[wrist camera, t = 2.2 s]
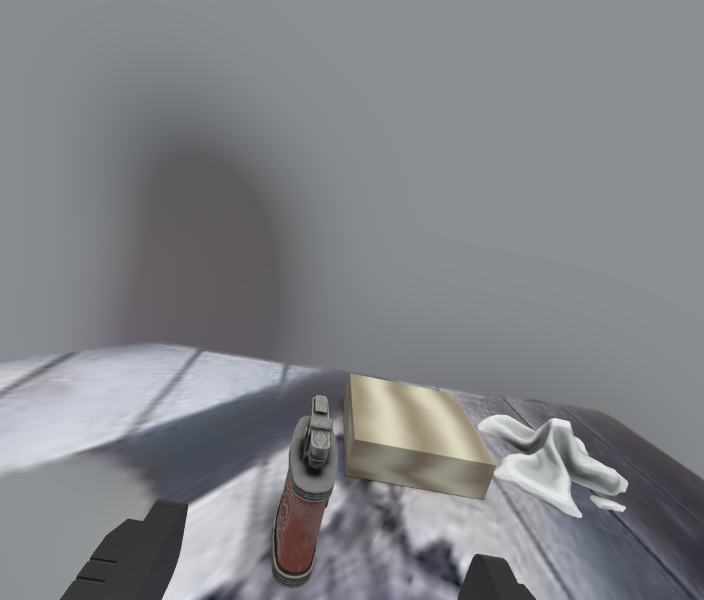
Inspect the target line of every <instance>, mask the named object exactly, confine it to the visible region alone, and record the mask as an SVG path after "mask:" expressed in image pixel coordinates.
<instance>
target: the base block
mask: <svg viewBox="0 0 704 600" xmlns="http://www.w3.org/2000/svg"><path fill="white" fill-rule="evenodd" d="M343 407H344V452H345V476H351V477H356V478H362V479H368V480H373V481H379V482H385V483H391V484H396V485H402V486H408V487H414V488H419V489H425V490H431V491H436V492H442V493H448V494H454V495H459V496H465V497H471V498H477V499H482V500H484V498H485V495H486V492H487V490H488V487H489V484H490V482H491V479H492V476H493V474H494V471H495V468H496V466H497V465H496V464H495V462H494V460H493V459H492V457H491V456H490V454H489V452H488V451H487V449H486V448H485V446H484V444H483V443H482V441H481V440H480V438H479V436H478V435H477V433H476V432H475V430H474V428H473V427H472V425H471V424H470V422H469V420H468V419H467V417H466V415H465V414H464V412H463V411H462V409H461V407H460V406H459V404H458V403H457V401H456V399H455V398H454V396H453V395H452V394H450V393H445V392H440V391H435V390H430V389H425V388H420V387H415V386H410V385H405V384H400V383H395V382H390V381H385V380H380V379H375V378H370V377H365V376H360V375H355V374H350V376H349V380H348V384H347V388H346V392H345V396H344V400H343Z"/></svg>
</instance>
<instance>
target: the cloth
mask: <svg viewBox="0 0 704 600" xmlns="http://www.w3.org/2000/svg"><path fill="white" fill-rule="evenodd" d="M478 429H479V430H481V431H483V432H486V433H490V434H492V435H495V436H497V437H499V438H501V439H503V440H505V441H506V442H508V443H510V444H511V445H513V446H514V447H516V448H518V449H519V450H521V451H523V452H525V453H526V454H528V455H524V454H511V455H509V456H506V457H505V458H504V459H503V460H502V463H501V465H500V467H499V468H498V469H495V471H494V475H495V476H497V477H498V478H500V479H502V480H504V481H506V482H508V483H509V484H512V485H514V486H516V487H518V488H519V489H521V490H523V491H525V492H527V493H529V494H530V495H532V496H534V497H536V498H538V499H541V500H543V501H544V502H546V503H548V504H550V505H551V506H553V507H555V508H557V509H559V510H561V511H562V512H564V513H567V514H569V515H572V516H575V517H578V518H581V517H582V513H581V512H580V511H579V510H578V508H577V506H576V505H575V503H574V501H573V500H572V498H571V492H570V491H571V481H573V482H575V483H578V484H580V485H582V486H585V487H587V488H590V489H593V490H596V491H598V492H601V493H604V494H607V495H611V496H612V495H617V494H618V493H619V492H625V491H626V488H627V487H628V482H627V481H626V480H625V479H624V478H623V477H622V476H621V475H619V474H618V473H617V472H616V471H615V470H614V469H612V468H609V467H607V466H604V465H603V464H601V463H600V462H598V461H596V460H594V459H592V458H591V457H589V456H588V453H587V452H586V449H585V446H584V444H583V443H582V441H581V440H579V439H578V438H576V437H575V436H574V434H573V431H572V428H571V424H570V422H569V421H565V420H561V419H557V418H554V419H550V420H549V421H547V422H546V423H545V424H544V425H543V426H542V427H540V428H539V429H538V430H537V431H534V430H532V429H530V428H528V427H526V426H525V425H523V424H521V423H520V422H518V421H517V420H515V419H513V418H511V417H509V416H507V415H494V416H491V417H488V418H486V419H484V420H483V421H482V422H481V423H479V425H478ZM590 499H591V500H592V501H593V502H594V503H595V504H596V505H597V506H598V507H599V508H603V509H610V510H614V511H621V512H623V511H624V510H625V508H626V507H624V506H622V505H620V504H617V503H615V502H613V501H610V500H607V499H604V498H600V497H597V496H590Z"/></svg>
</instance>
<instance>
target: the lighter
mask: <svg viewBox="0 0 704 600" xmlns="http://www.w3.org/2000/svg"><path fill="white" fill-rule="evenodd" d="M337 468H338V448H337V442H336V437H335V434H334V432H333V419H329V412H328V400H327V399H326V397H324V396H316V397H314V398H313V401H312V405H311V410H310V416H305V417H302V418H301V419H300V420H299V421H298V424H297V426H296V428H295V430H294V434H293V438H292V442H291V446H290V451H289V469H288V473H287V478H286V482H285V487H284V490H283V493H282V495H281V498H280V500H279V503H278V506H277V511H276V515H275V519H274V524H273V528H272V538H271V564H272V574H273V577H274V579H275V580H276V581H277V582H278V583H279V584H281V585H282V586H284V587H289V588H297V587H300V586H302V585H304V584H305V583H306V582H307V581H308V580H309V578H310V575H311V571H312V568H313V563H314V559H315V554H316V550H317V544H318V532H319V528H320V524H321V521H322V517H323V513H324V509H325V508H326V507H327V505H328V501H329V498H330V495H331V494H332V490H333V486H334V482H335V478H336V473H337Z"/></svg>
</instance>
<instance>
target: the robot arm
mask: <svg viewBox="0 0 704 600" xmlns="http://www.w3.org/2000/svg"><path fill="white" fill-rule="evenodd" d="M187 510H188V504H186V503H180V502H174V501H168V500H162V499H158V500H157V501H156V502H155V504H154V505H153V507H152V508H151V510H150V511H149V513H148V514H147V516H146V518H145V519H144V521H139V520H133V519H127V520H126V521H124V522H123V523H122V524H121V525H119V526H118V527H117V528H115V529H114V530H113V531H111V532H110V533H109V534H108V535H106V537H105V538H104V539H103V541H102V542H101V543H100V545H99V546H98V548H97V549H96V550H95V552H94V553H93V555H92V556H91V558H90V560H89V562H87V563H86V564H85V566H84V567H83V568H82V570H81V571H80V572H79V574H78V575H77V578H76V580H75V581H73V582H72V584H71V585H70V586H69V588H68V589H67V590H66V592H65V593H64V595H63V596H62V597H61V599H60V600H162V598H163V595H164V593H165V591H166V589H167V587H168V584H169V582H170V580H171V578H172V575H173V573H174V570H175V568H176V565H177V562H178V558H179V555H180V551H181V546H182V540H183V534H184V528H185V522H186V516H187ZM458 600H536V599H535V597H534V596H533V595H532V594H531V593H530V591H529V590H528V589H527V588H526V586H525V585H524V584H519V583H518V582H517V580H516V578H515V576H514V574H513V572H512V570H511V568H510V566H509V564H508V563H507V561H506V560H505V559H503V558H499V557H493V556H487V555H481V554H476V555H474V557H473V559H472V561H471V564H470V566H469V569H468V572H467V574H466V577H465V579H464V582H463V584H462V587H461V590H460V592H459V595H458Z"/></svg>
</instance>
